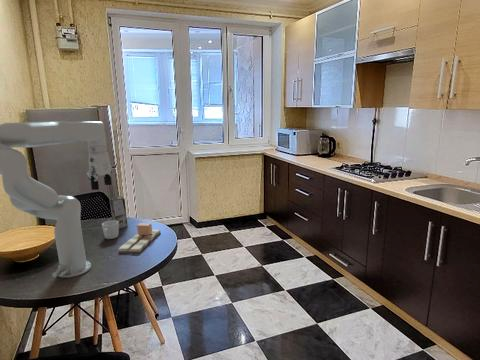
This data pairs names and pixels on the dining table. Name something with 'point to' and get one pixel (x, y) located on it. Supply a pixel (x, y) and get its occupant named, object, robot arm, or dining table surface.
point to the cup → (110, 229)
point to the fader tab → (144, 229)
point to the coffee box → (118, 210)
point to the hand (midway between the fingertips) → (102, 187)
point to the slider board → (138, 242)
